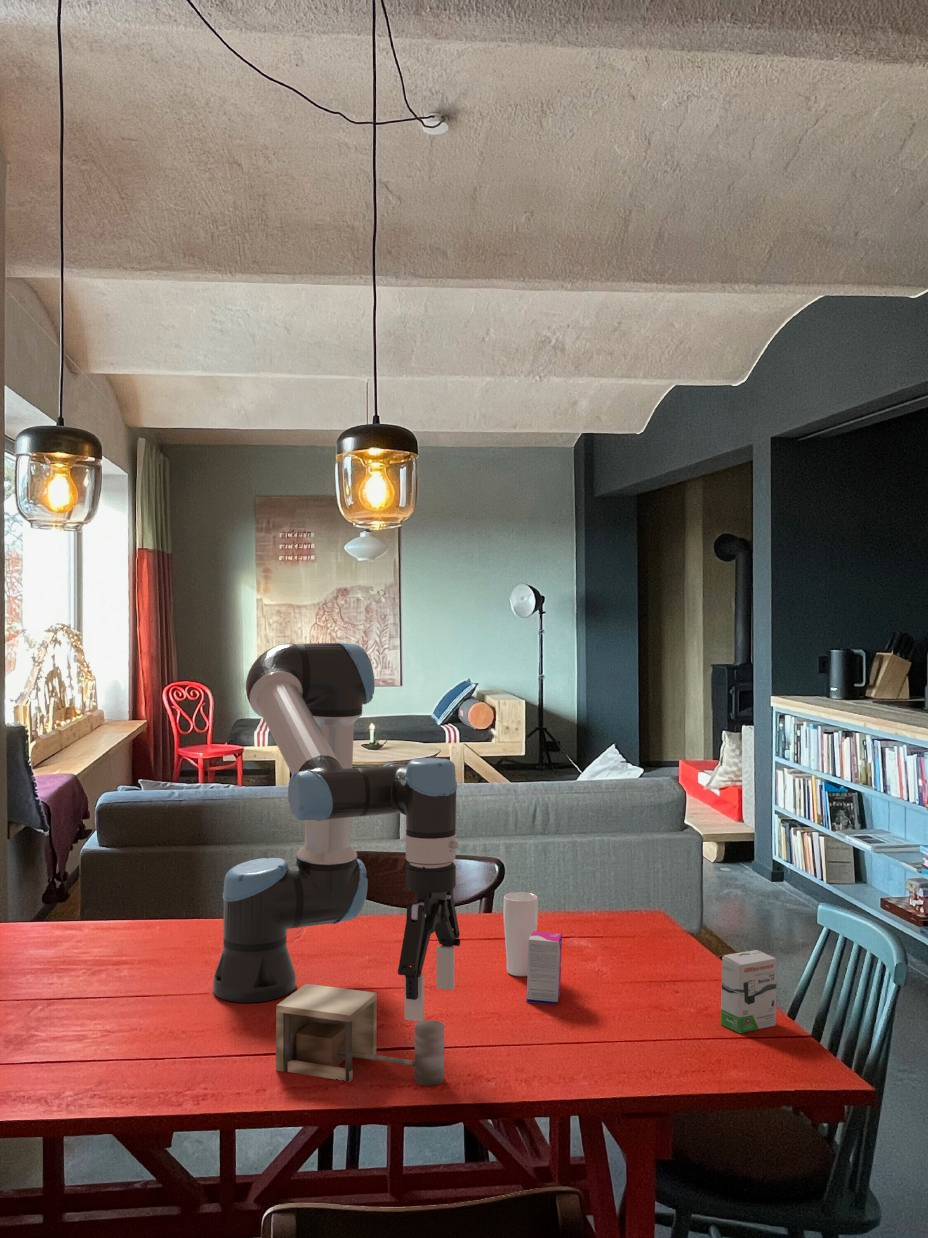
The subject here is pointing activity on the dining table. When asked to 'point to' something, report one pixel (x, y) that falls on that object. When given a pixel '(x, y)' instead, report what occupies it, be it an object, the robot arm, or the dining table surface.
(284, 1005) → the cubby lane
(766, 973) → the ink box
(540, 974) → the supplement box
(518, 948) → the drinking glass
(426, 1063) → the tethered cylinder
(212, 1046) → the dining table surface
